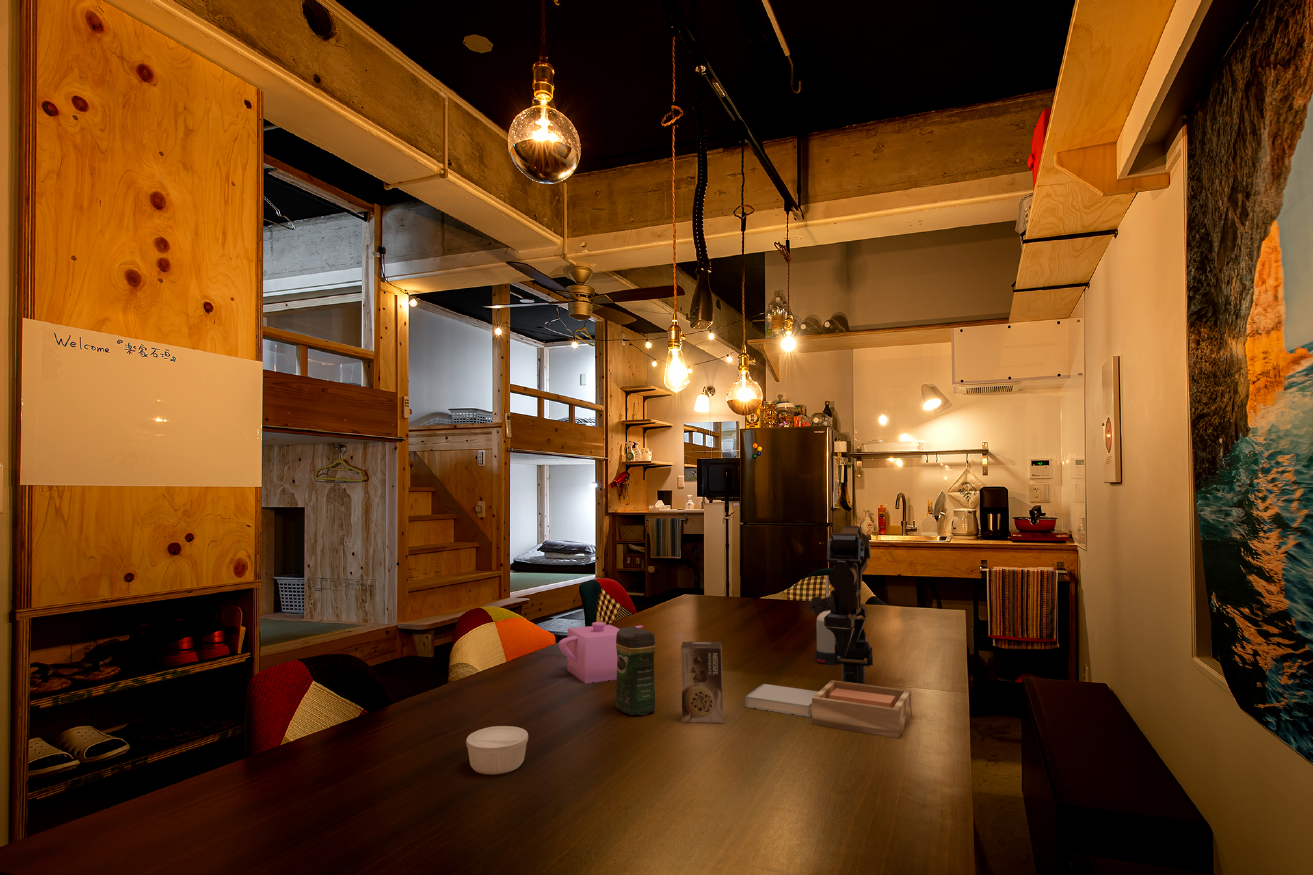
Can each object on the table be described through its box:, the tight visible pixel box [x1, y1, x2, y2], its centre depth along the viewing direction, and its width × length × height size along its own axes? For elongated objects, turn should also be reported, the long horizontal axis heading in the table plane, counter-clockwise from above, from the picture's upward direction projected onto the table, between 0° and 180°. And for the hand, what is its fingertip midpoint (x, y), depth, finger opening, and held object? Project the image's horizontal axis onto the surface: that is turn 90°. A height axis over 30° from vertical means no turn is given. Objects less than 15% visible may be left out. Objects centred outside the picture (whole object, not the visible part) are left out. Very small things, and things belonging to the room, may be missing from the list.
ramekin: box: [465, 725, 529, 775], centre depth 128 cm, size 11×11×5 cm
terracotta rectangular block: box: [829, 688, 896, 708], centre depth 153 cm, size 6×13×4 cm, turn 61°
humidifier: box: [814, 575, 840, 666], centre depth 207 cm, size 8×8×25 cm
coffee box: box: [680, 641, 724, 724], centre depth 155 cm, size 9×6×16 cm
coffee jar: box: [615, 625, 656, 716], centre depth 161 cm, size 10×8×19 cm
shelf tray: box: [811, 679, 913, 739], centre depth 153 cm, size 16×18×6 cm
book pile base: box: [744, 683, 819, 718], centre depth 164 cm, size 12×15×2 cm
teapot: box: [558, 621, 644, 684], centre depth 193 cm, size 15×25×14 cm, turn 115°
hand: (847, 652), depth 165 cm, fingers open, 9 cm apart
